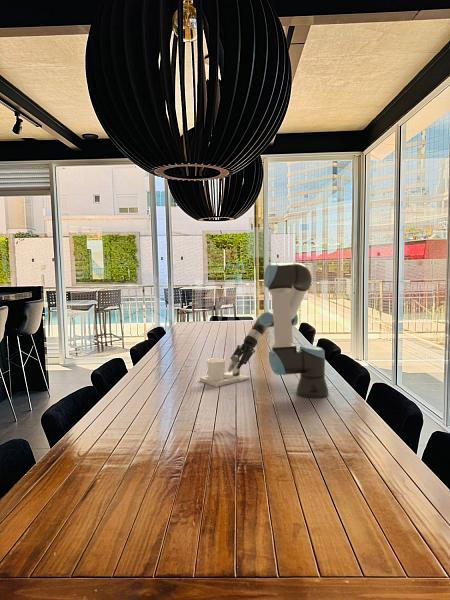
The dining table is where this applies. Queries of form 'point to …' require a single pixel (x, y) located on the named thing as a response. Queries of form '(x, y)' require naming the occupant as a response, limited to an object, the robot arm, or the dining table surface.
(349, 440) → the dining table surface
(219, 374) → the candle holder
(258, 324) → the robot arm
